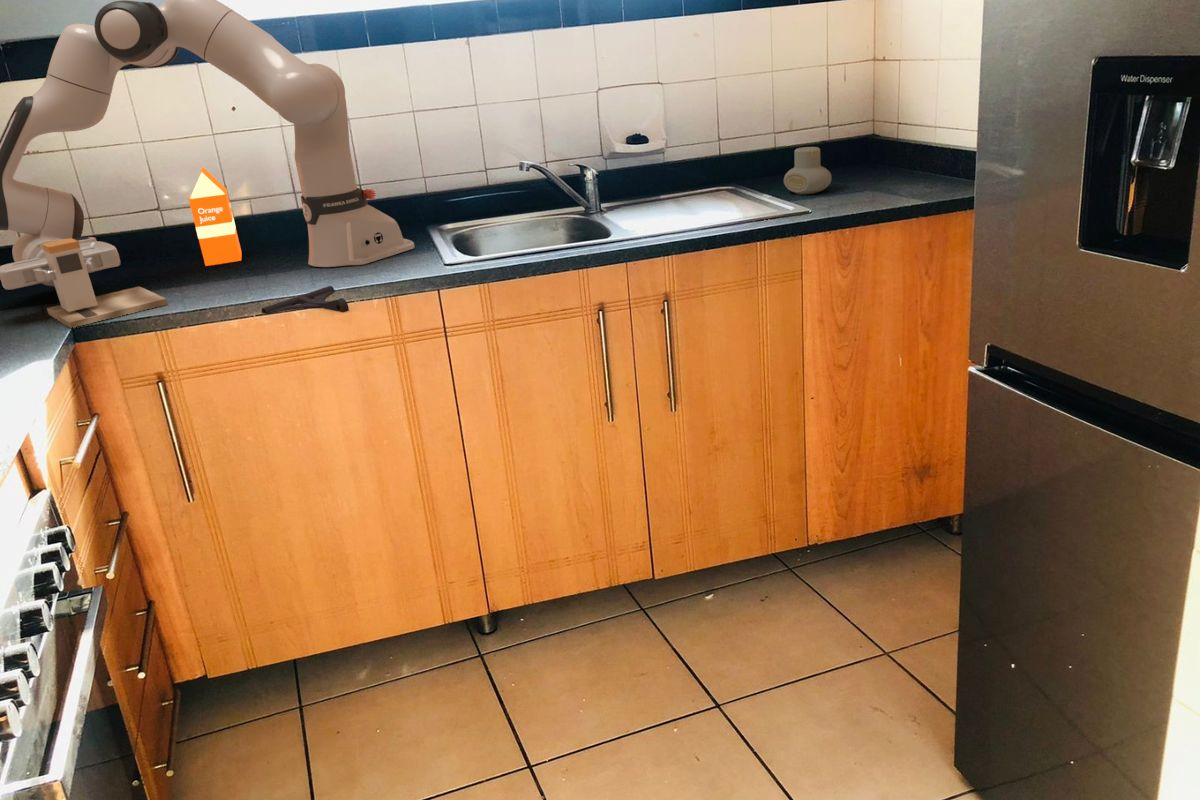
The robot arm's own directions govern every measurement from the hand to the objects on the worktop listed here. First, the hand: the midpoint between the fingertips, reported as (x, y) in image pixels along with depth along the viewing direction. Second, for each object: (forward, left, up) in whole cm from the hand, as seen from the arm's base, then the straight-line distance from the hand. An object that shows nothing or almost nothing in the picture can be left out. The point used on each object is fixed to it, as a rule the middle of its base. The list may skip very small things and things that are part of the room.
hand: (70, 272), depth 172 cm
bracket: (-30, +36, -9) cm, 48 cm away
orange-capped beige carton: (0, -1, -7) cm, 7 cm away
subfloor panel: (-4, -1, -8) cm, 10 cm away
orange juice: (-35, -22, -9) cm, 42 cm away
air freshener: (-146, +54, -9) cm, 156 cm away
